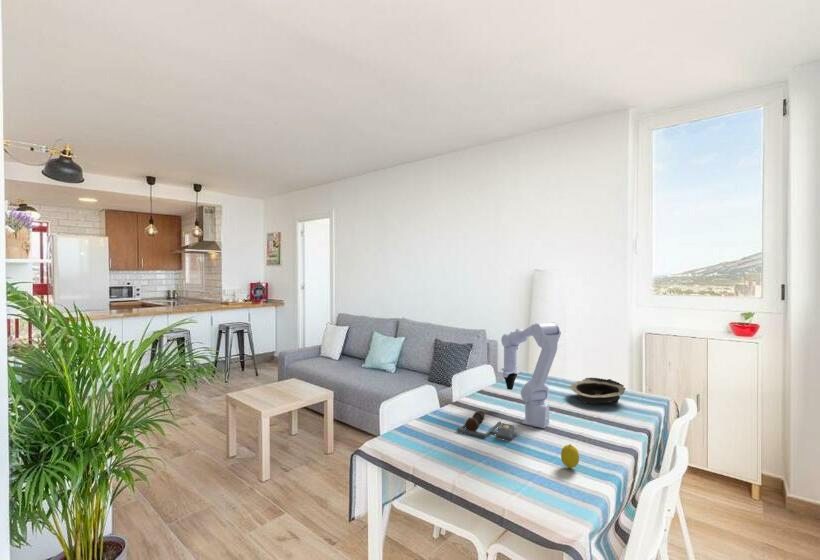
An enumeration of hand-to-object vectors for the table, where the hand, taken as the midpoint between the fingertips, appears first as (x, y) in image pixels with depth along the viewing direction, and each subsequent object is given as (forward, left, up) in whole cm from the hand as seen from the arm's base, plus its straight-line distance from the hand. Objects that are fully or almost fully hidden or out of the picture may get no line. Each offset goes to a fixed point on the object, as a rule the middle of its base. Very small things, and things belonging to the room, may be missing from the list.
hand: (509, 389), depth 186 cm
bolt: (+5, +25, -10) cm, 27 cm away
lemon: (-35, +42, -10) cm, 56 cm away
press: (-1, +28, -9) cm, 29 cm away
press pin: (-9, +30, -8) cm, 32 cm away
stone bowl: (-32, -34, -10) cm, 48 cm away
